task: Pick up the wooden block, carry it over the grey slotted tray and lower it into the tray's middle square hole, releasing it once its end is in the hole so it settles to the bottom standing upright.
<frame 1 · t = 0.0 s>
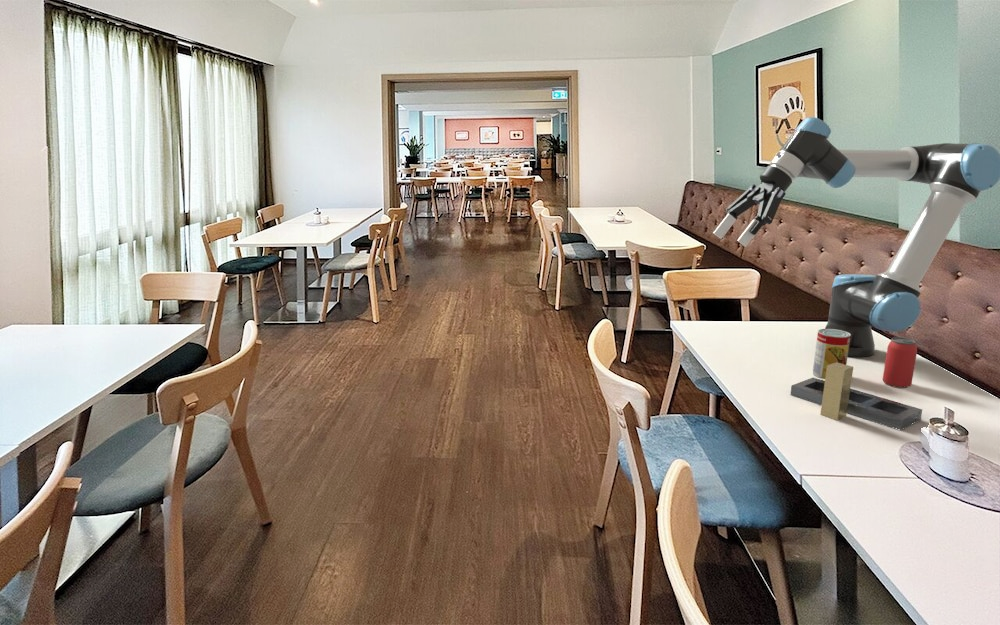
hand: (728, 239, 178), 36 cm above the table, tool tilted 35°, fingers open, 13 cm apart
beer can: (896, 384, 178), on the table
wooden block: (833, 415, 157), on the table
grey slotted tray: (852, 406, 162), on the table
canned food: (828, 376, 184), on the table
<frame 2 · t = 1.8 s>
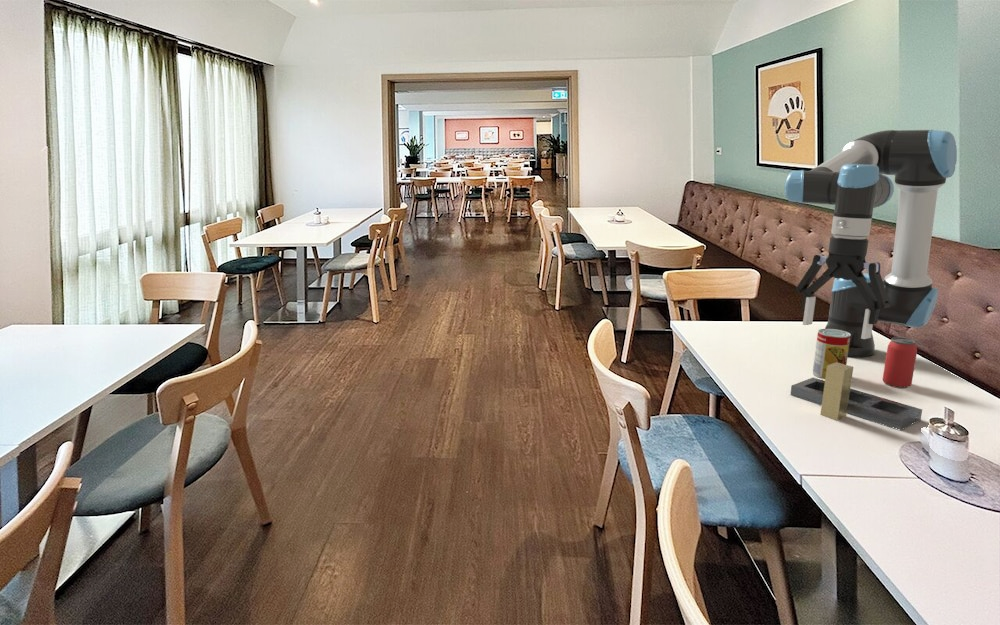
hand: (835, 331, 153), 20 cm above the table, tool pointing down, fingers open, 13 cm apart
nothing on the table moved.
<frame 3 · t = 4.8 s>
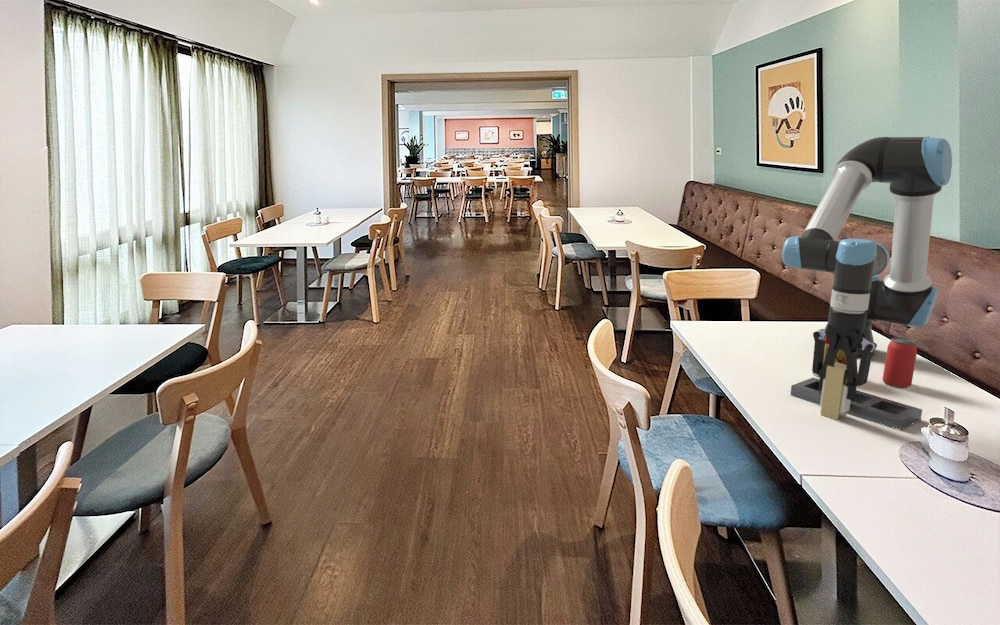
hand: (834, 407, 157), 2 cm above the table, tool pointing down, fingers closed on wooden block, 4 cm apart
wooden block: (833, 415, 157), on the table, touching gripper
everything else where it was.
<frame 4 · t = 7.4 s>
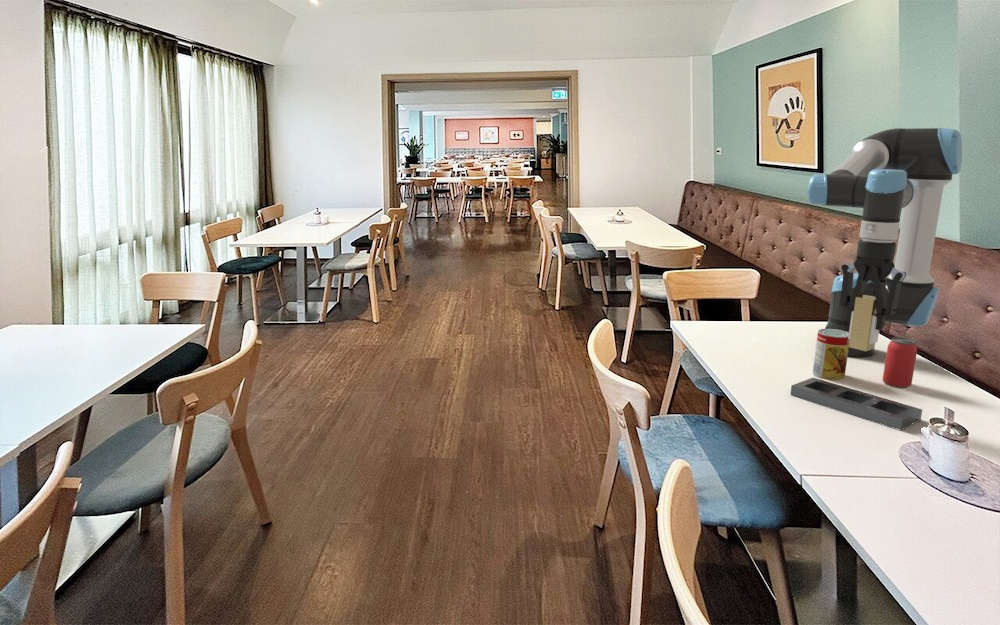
hand: (862, 340, 158), 17 cm above the table, tool pointing down, fingers closed on wooden block, 4 cm apart
wooden block: (861, 347, 159), point 15 cm above the table, touching gripper
everything else where it was.
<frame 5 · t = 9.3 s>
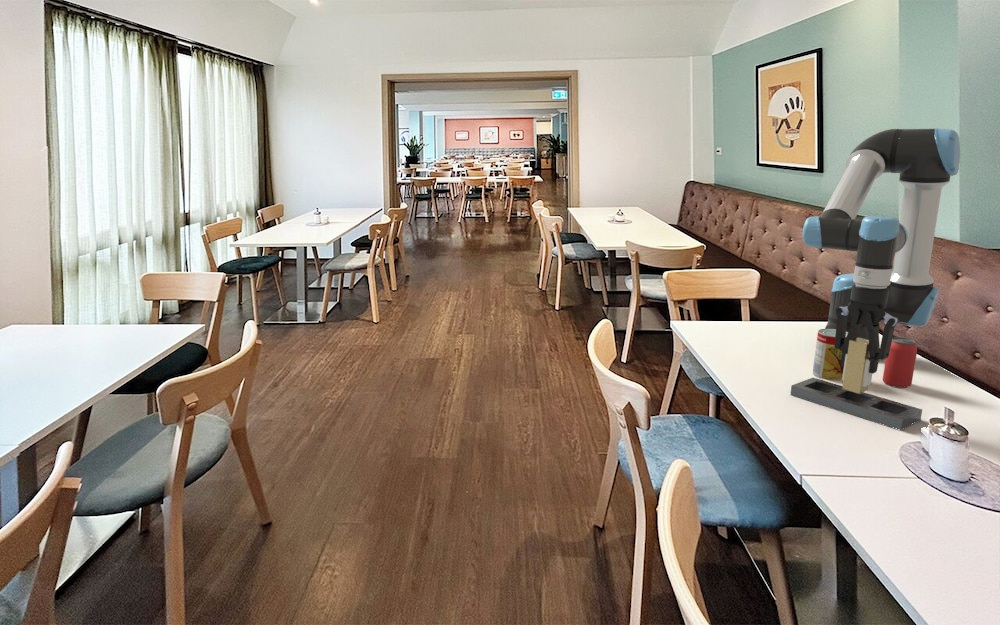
hand: (856, 382, 161), 6 cm above the table, tool pointing down, fingers closed on wooden block, 4 cm apart
wooden block: (855, 389, 161), point 4 cm above the table, touching gripper
everything else where it was.
when the fingers open (4 cm above the table, at t = 10.4 s): wooden block drops 2 cm, resting in grey slotted tray.
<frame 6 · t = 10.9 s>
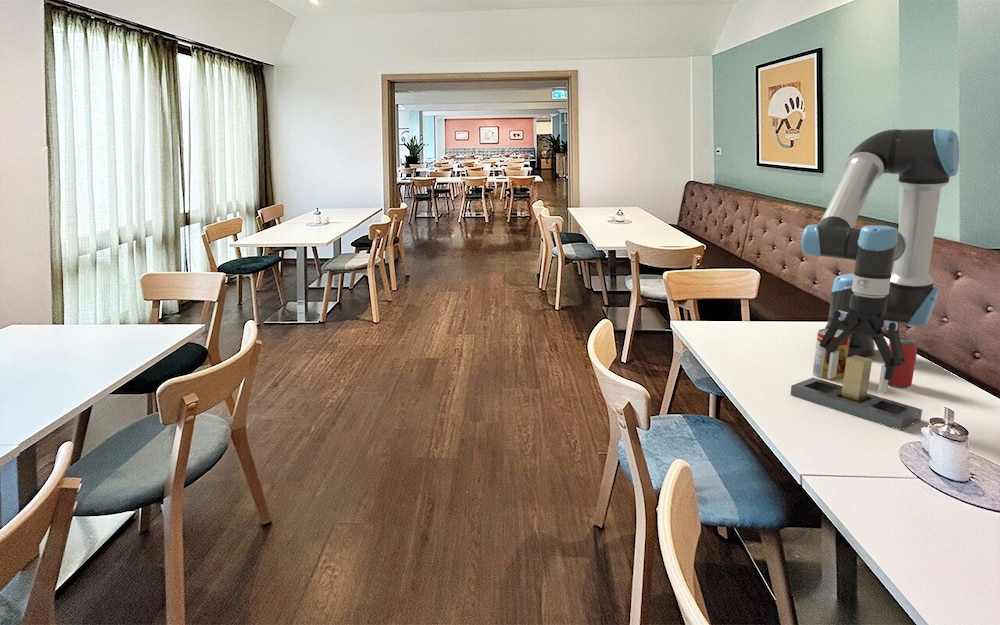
hand: (855, 384, 161), 6 cm above the table, tool pointing down, fingers open, 11 cm apart
wooden block: (852, 406, 163), resting in grey slotted tray
everything else where it was.
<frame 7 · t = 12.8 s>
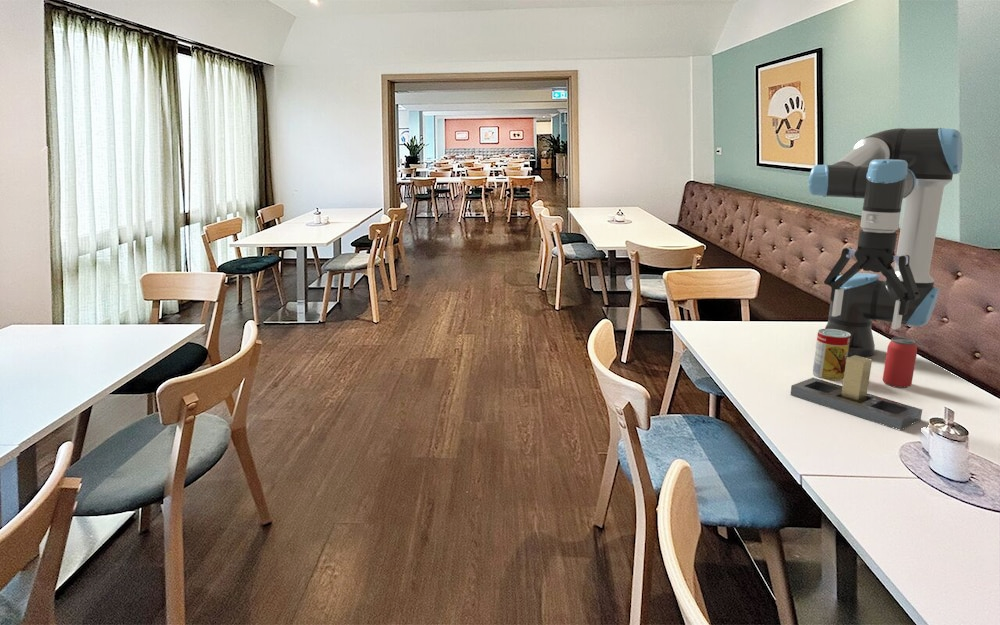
hand: (864, 321, 158), 21 cm above the table, tool pointing down, fingers open, 13 cm apart
nothing on the table moved.
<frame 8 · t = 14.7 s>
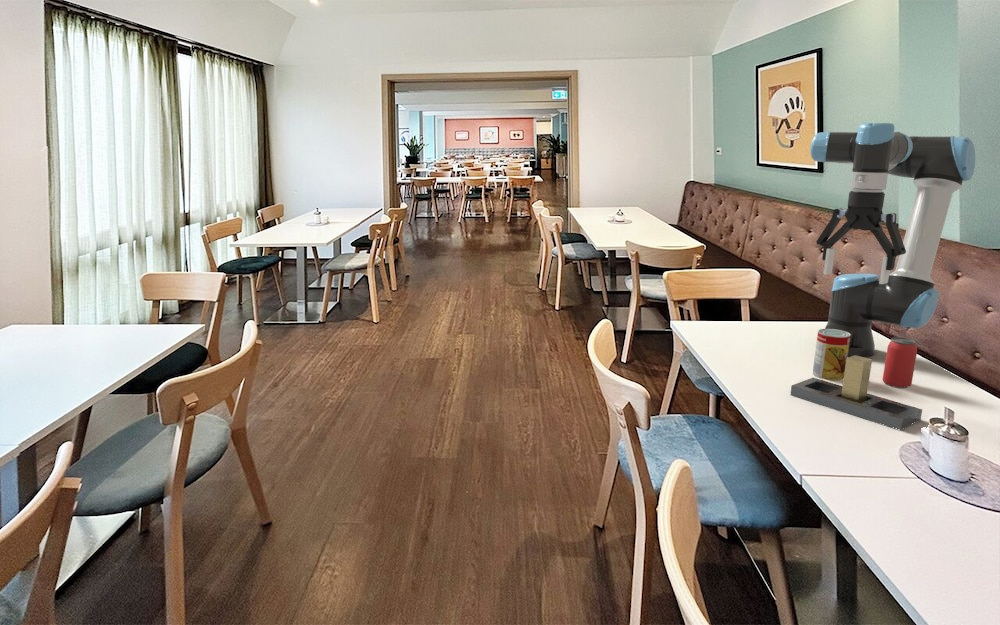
hand: (854, 278, 167), 29 cm above the table, tool pointing down, fingers open, 13 cm apart
nothing on the table moved.
at the end: wooden block 0.1 cm off-centre on the grey slotted tray, point 0.0 cm above the grey slotted tray's base; wooden block tilted 0°; the gripper is holding nothing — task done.
